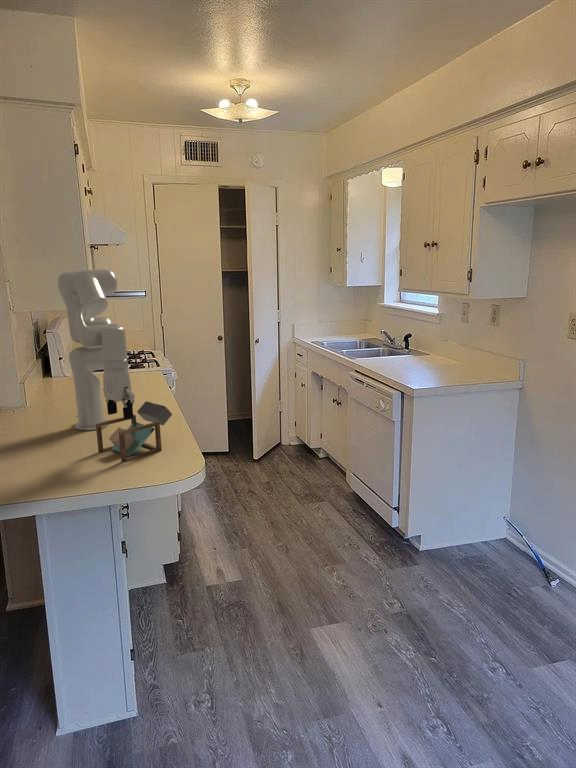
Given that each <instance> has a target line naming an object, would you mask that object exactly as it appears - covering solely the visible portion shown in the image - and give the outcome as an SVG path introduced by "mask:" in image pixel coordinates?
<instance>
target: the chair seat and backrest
mask: <svg viewBox="0 0 576 768" xmlns="http://www.w3.org/2000/svg"><path fill="white" fill-rule="evenodd" d="M136 413H137V414H138V415H139V417H141V419H142V420H144V421H146V422H150V423H153V422H157V421H158V422H160V426H164V425H165V424H166V423H167V422H168V421H169V419H170V418H171V417H172V416H173V413H172V412H171V410H169V409H168V408H167V407H166V406H165V405H162V404H158V403H154V402H149V401H147V400H145V402H144V403H143V404H142V405H141V406H140V407H139V409H138V410H137V411H136ZM142 425H145V424H143V423H140V422H137V421H136V422H133V423H132V424H131V425H130V426H129V427H128V428H127V429H130V428H134V427H138V426H142ZM153 432H155V427H150V428H146V429H142V430H139V431H135V432H131V433H130V434H131V435H132V436H133V437H134V438H135V439H136V440H135V441H134V442H133V443H132V444H131V446H130V447H129V448H128V449H127V450H126V457H130V456H133V455H136V453H137V452H138V451H139V449H140V448H141V447H143V446H142V444H143V443H146V441H147V440H148V439H149V437H150V436H151V435H152V433H153ZM112 446H113V447H112V448H111V449H112V450H111V451H113V452H117V453H120V454H121V452H120V449H119V448H117V447H116V446H115V445H114V444H113V445H112Z"/></svg>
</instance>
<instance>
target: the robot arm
mask: <svg viewBox="0 0 576 768" xmlns="http://www.w3.org/2000/svg"><path fill="white" fill-rule="evenodd" d="M57 286H58V291H59V293H60V296H61V298H62V300H63V302H64V305H65V307H66V312H67V313H66V314H67V320H68V329H69V335H70V338H71V341H73V342H74V343H76V344H80V345H81V346H79V347H76V348H73V349H71V350H70V352H69V354H68V360H69V364H70V369H71V372H72V378H73V384H74V392H75V402H76V410H77V416H76V419H78V421H77V422H76V423H75V424H74V429H76V430H77V431H78V430H79V431H94V430H96V423H101V422H105V421H108V420H107V419H105V416H104V407H103V397H104V398H105V403H106V408H107V415H115V414H117V413H118V406H117V402H121V404H122V405H123V407H122V413H123V417H124V419H125V421H127V420H126V419H129V420H131V419H130V418H133V415H134V409H133V407H134V402H135V393H133V392H132V386H131V385H132V384H131V378H130V374H129V362H128V352H127V351H128V349H127V338H126V337H127V336H126V329H125V328H124V327H123V326H121V325H120V324H118V323H112V321H111V319H110V318H108V317H106V316H99V315H102V314H103V313H104V312H105V311H106V310H107V308H108V305H109V303H108V299H107V296H106V294H109V295H111V294H115V292H116V291H117V290H118V289H117V288H118V280H117V277H116V275H115V273H114V272H113V271H111V270H110V269H83V270H81V271H80V270H79V271H77V270H76V271H66V272H63V273H61V274H60V275H59V276H58V277H57ZM100 370H103V374H102V375H103V377H102V379H103V381H102V383H103V385H102V386H103V387H102V386H101V381H100V379H99V377H97V375H95V374H94V373H93V372H95V371H100ZM101 387H102V388H103V390H102V388H101ZM102 391H103V395H102ZM102 396H103V397H102ZM107 426H108V425H105V426H101V429H104V428H106V427H107Z"/></svg>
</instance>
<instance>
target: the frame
mask: <svg viewBox="0 0 576 768" xmlns="http://www.w3.org/2000/svg"><path fill="white" fill-rule="evenodd" d="M128 420H129V421H130V420H131V421H130V422H131V425H132V423H133V422H137V417H136V414H133V418H130V419H126V420H125V419H124V416H123V417H118V418H114V419H109V420H107V421H105V422H101V423H96V439H97V440H96V442H97V451H98V453H99V454H102V453H104V452H108V451H113V450H112V449H111V448H112V447H113V446H114V445H112V446H107V447H104V444H103V443H104V442H103V441H104V440H103V433H102V428H101V426H105V425H111V424H116V423H120V422H124V421H125V422H126V421H128ZM150 427H153V428H154V429H155V430H154V433H155V435H154V436H155V445H152V444H150V443H147V442H144V443H143V444H142V446H141V447H144V448H148V449H150V450H148V451H144V452H140V453H137V454H134V455H133V456H130V457H129V456H127V455H126V447H125V436H124V434H127V433H131V432H135V431H139V430H142V429H146V428H150ZM161 436H162V435H161V425H160V422H158V421H157V422H150V423H147V424H144V425H142V426H138V427H134V428H130V429H128V428H127V429H125V430H122V431H119V441H120V452H121V453H120V459H121V463H126V462H128V461H132V460H136V459H139V458H141V457H146V456H149V455H153V454H156V453H159V452H162V451H161V450H163V449H162V439H161V438H162V437H161Z"/></svg>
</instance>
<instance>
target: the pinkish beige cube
mask: <svg viewBox="0 0 576 768" xmlns="http://www.w3.org/2000/svg"><path fill="white" fill-rule="evenodd" d="M122 430H126V429H124V428H121V427H117V428H116V430H115V431H113V433H112V434H111V435H110V436H109V438H108V440H109V442H111V443H112V444H113V446H114V445H115V446H116V447H117V448H119V449H120V441H119V431H122ZM124 436H125V447H126V450H127V449H128V448H129V447H130V446H131V444H132V443H133V442H134V441H135V440H136V439H135V438H134V437H133V436H132V435H131V434H130V433H127V434H124Z"/></svg>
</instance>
